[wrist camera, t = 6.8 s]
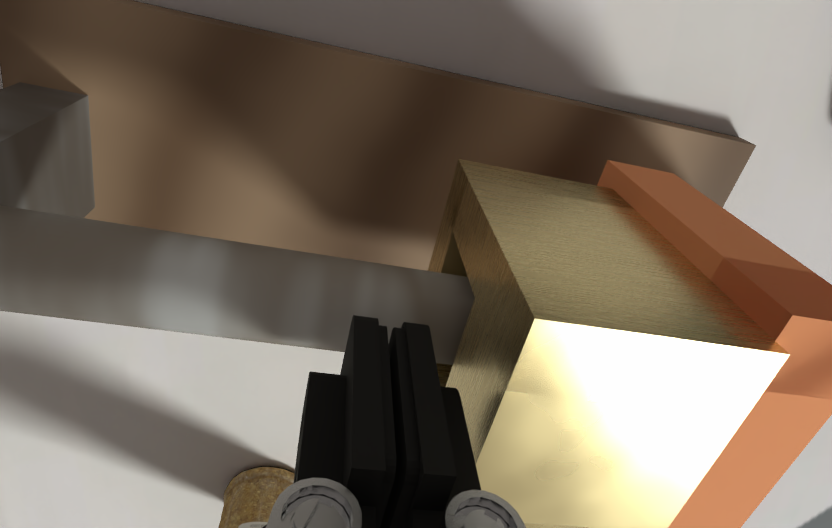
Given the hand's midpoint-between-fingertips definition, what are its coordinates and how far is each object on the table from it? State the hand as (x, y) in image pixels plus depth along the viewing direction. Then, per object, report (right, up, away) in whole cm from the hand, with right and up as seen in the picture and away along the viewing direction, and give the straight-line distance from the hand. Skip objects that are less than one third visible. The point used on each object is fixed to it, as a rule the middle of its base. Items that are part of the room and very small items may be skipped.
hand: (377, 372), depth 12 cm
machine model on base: (0, +5, +9) cm, 11 cm away
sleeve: (+4, +2, +6) cm, 7 cm away
